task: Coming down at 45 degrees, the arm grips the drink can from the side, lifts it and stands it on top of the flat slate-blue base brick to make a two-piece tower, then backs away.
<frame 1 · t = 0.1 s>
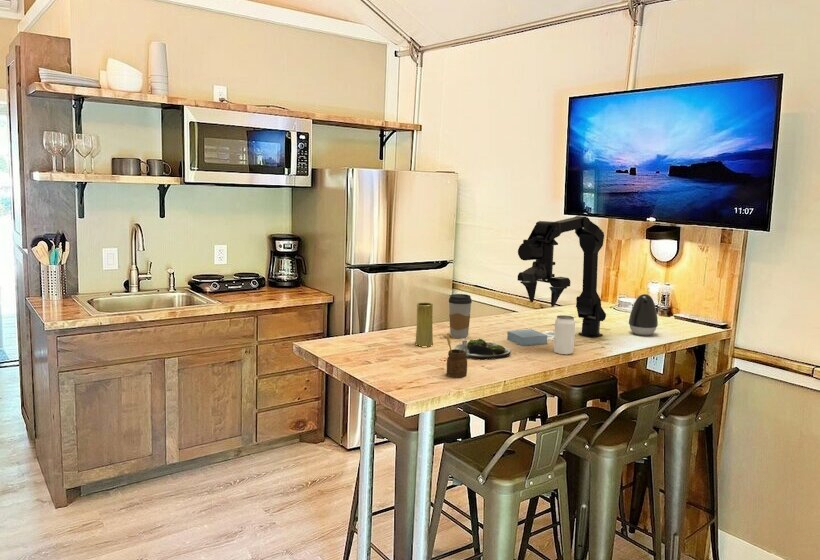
hand: (542, 304, 219), 15 cm above the table, tool pointing down, fingers open, 9 cm apart
can: (563, 353, 214), on the table
base brick: (526, 341, 228), on the table
salad plate: (481, 354, 212), on the table
vase: (424, 345, 221), on the table
coffee cup: (459, 337, 234), on the table
utensil holder: (456, 375, 188), on the table
black egg-shaped dome: (642, 334, 242), on the table
instruction page: (550, 335, 237), on the table
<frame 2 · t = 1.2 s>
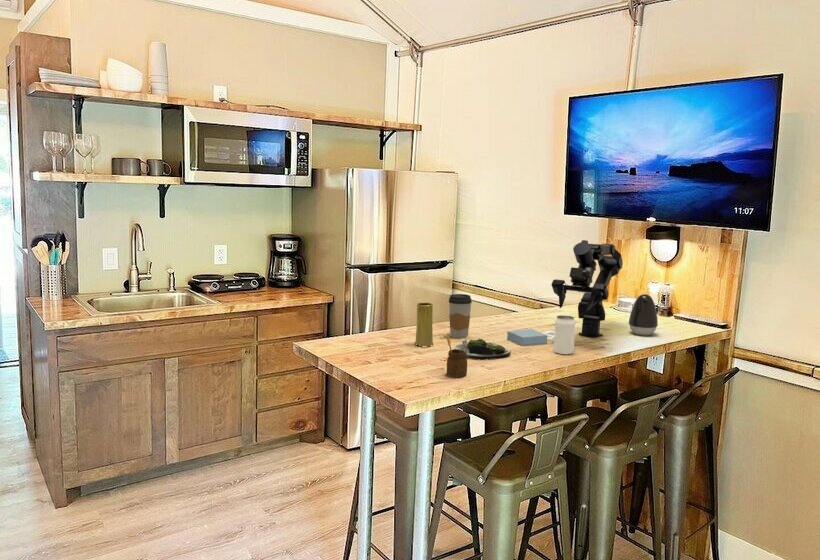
hand: (573, 309, 219), 13 cm above the table, tool tilted 45°, fingers open, 9 cm apart
nothing on the table moved.
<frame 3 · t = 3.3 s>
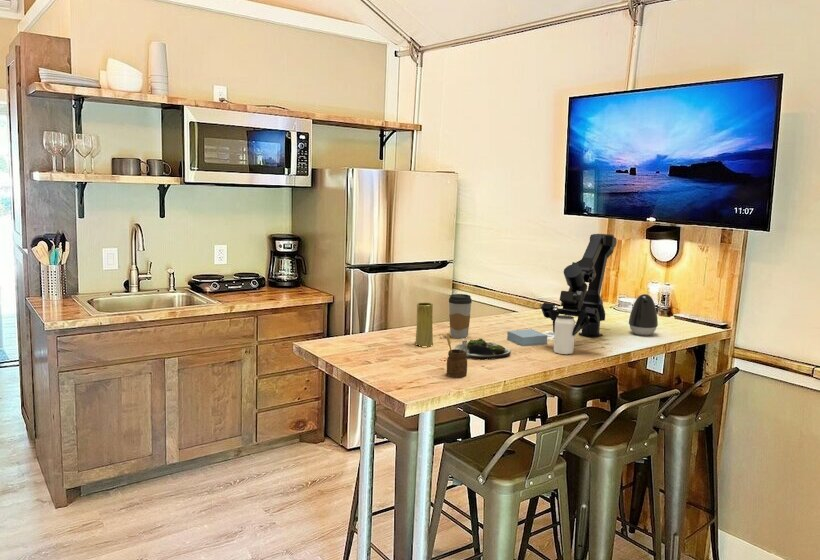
hand: (563, 333, 212), 7 cm above the table, tool tilted 45°, fingers closed on can, 6 cm apart
can: (563, 352, 214), on the table, touching gripper
everything else where it was.
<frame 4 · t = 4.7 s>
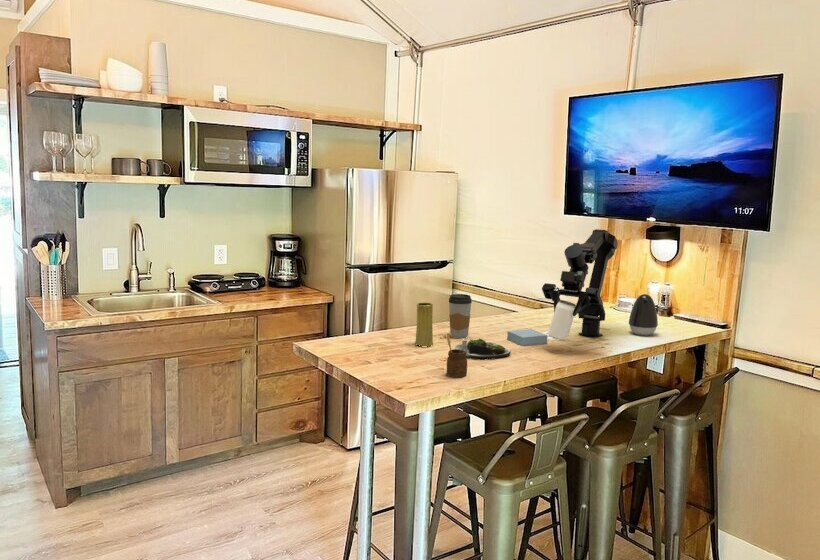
hand: (564, 314, 211), 13 cm above the table, tool tilted 45°, fingers closed on can, 6 cm apart
can: (556, 337, 214), point 5 cm above the table, touching gripper
everything else where it was.
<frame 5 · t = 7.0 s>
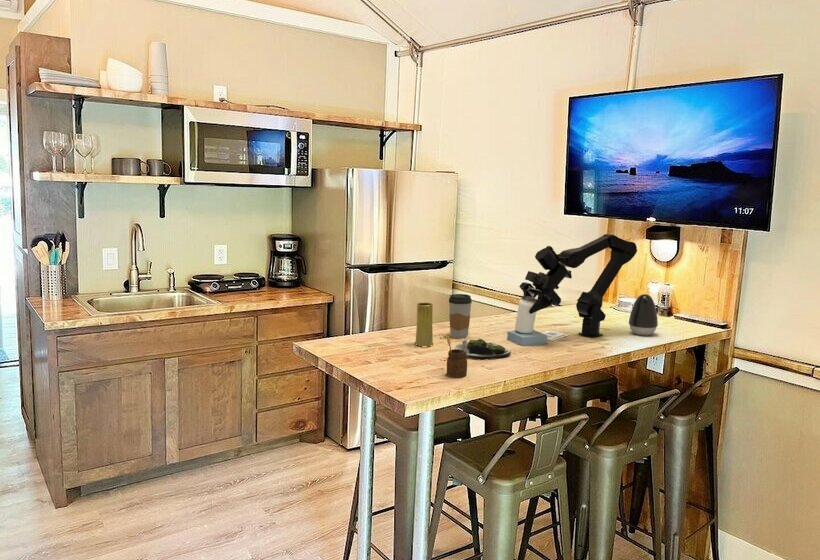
hand: (524, 311, 226), 11 cm above the table, tool tilted 45°, fingers closed on can, 6 cm apart
can: (523, 331, 229), point 3 cm above the table, touching base brick, gripper
everything else where it was.
when the fingers open (11 cm above the table, at t = 7.0 s): can stays where it is, resting on base brick.
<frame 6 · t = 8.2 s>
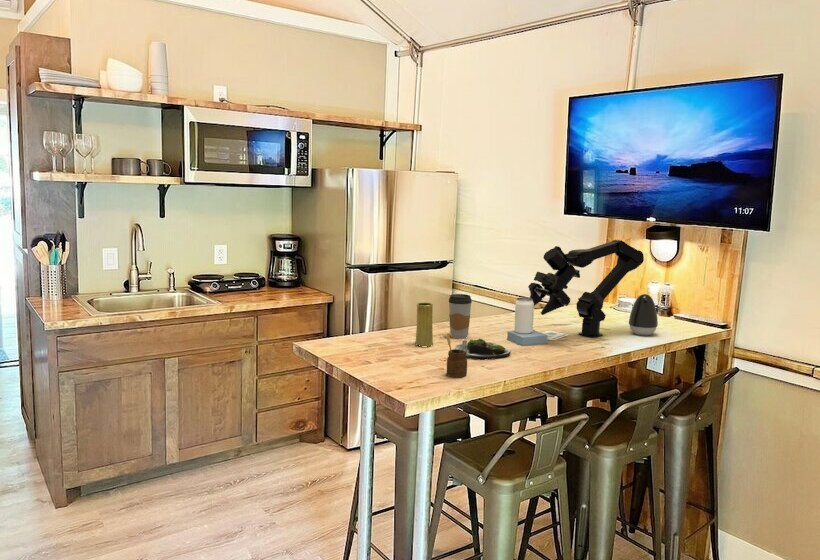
hand: (534, 311, 227), 11 cm above the table, tool tilted 45°, fingers open, 9 cm apart
can: (523, 332, 229), point 3 cm above the table, touching base brick
everything else where it was.
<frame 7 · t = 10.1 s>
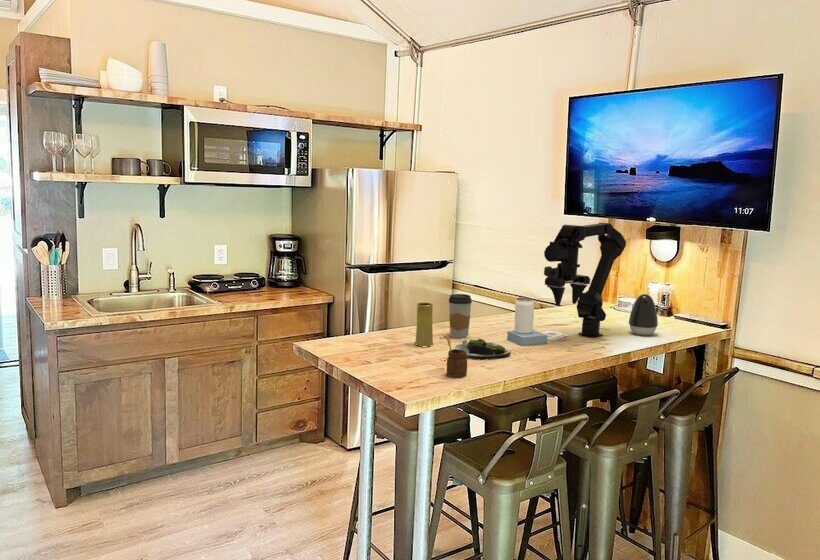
hand: (565, 304, 228), 13 cm above the table, tool pointing down, fingers open, 9 cm apart
nothing on the table moved.
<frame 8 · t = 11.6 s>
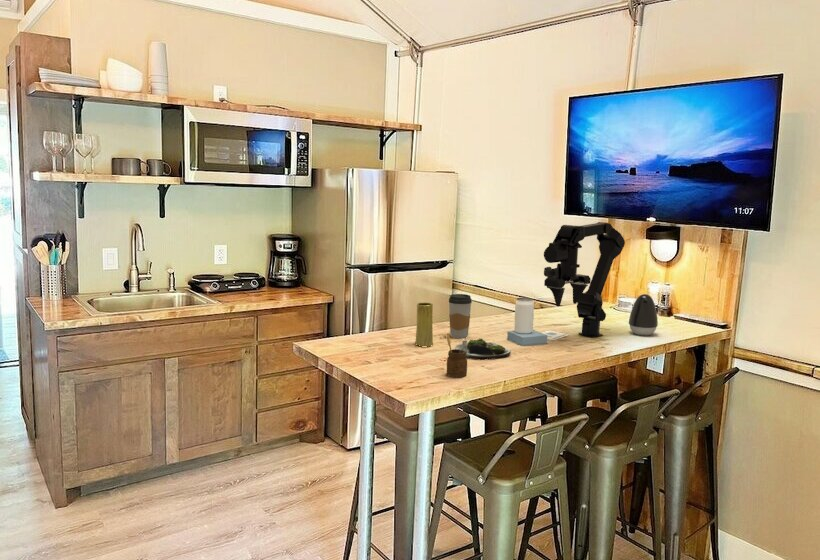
hand: (566, 304, 228), 13 cm above the table, tool pointing down, fingers open, 9 cm apart
nothing on the table moved.
at the end: can inside the target area on the base brick (1.9 cm from its centre), point 2.8 cm above the base brick's base; can tilted 0°; the gripper is holding nothing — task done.
